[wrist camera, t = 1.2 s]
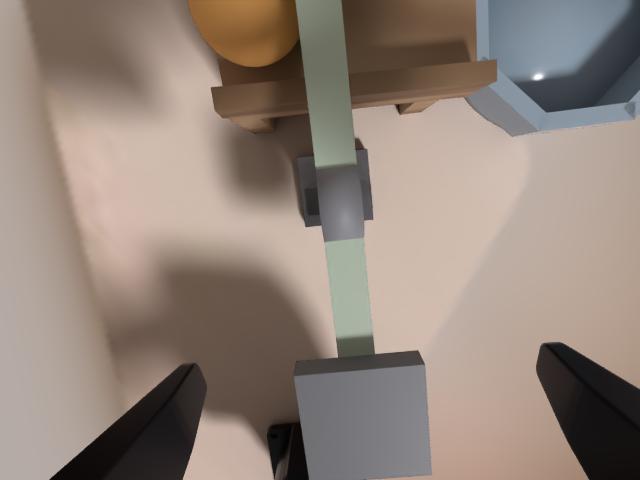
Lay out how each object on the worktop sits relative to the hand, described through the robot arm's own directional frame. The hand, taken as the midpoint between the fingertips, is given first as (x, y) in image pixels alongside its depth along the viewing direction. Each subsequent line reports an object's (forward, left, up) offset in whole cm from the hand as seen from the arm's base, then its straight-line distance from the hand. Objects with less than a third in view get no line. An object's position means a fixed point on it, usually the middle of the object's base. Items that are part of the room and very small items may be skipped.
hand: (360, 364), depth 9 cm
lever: (+5, 0, -7) cm, 8 cm away
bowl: (+11, -12, -12) cm, 20 cm away
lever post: (+4, 0, -12) cm, 13 cm away
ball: (+11, +2, -5) cm, 12 cm away
